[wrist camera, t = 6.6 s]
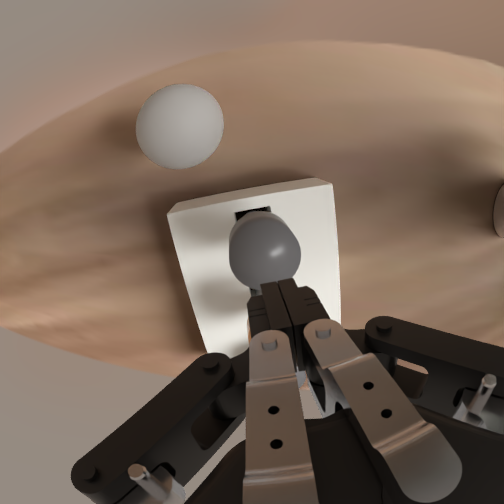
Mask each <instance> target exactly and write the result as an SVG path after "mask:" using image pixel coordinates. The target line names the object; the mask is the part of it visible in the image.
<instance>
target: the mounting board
mask: <svg viewBox="0 0 504 504" xmlns="http://www.w3.org/2000/svg"><path fill="white" fill-rule="evenodd" d="M261 207H265V209H266V212H270V213H273V214H275V215H277V216H279V217H280V218H281V219H282V220H283V221H284V222H285V223H286V224H287V226H288V227H289V228H290V230H291V231H292V233H293V234H294V235H295V237H296V238H297V240H298V242H299V245H300V248H301V261H300V265H299V268H298V270H297V272H296V273H295V275H294V276H293V277H292V278H294V280H295V282H296V284H297V286H298V287H303V286H308V287H310V288H311V289H313V290H314V291H315V292H316V294H317V296H318V298H319V299H320V301H321V303H322V305H323V306H324V308H325V310H326V312H327V313H328V315H329V317H330V319H331V320H335V321H337V322H338V323H340V325H341V312H340V277H339V256H338V241H337V227H336V215H335V204H334V194H333V185H332V184H331V183H329V182H326V181H324V180H321V179H319V178H316V177H314V178H307V179H301V180H294V181H288V182H281V183H275V184H269V185H263V186H258V187H252V188H247V189H241V190H236V191H231V192H225V193H220V194H215V195H210V196H205V197H201V198H196V199H191V200H187V201H182V202H177V203H176V204H175V205H174V206H173V207H172V209H171V210H170V211H169V212H168V213H167V218H168V222H169V226H170V230H171V234H172V237H173V241H174V245H175V249H176V252H177V256H178V260H179V263H180V267H181V270H182V274H183V277H184V281H185V284H186V287H187V291H188V294H189V297H190V300H191V304H192V307H193V310H194V313H195V316H196V319H197V323H198V326H199V329H200V332H201V335H202V338H203V341H204V344H205V347H206V349H207V352H208V353H213V352H218V353H223V354H226V355H227V356H228V357H229V358H233V357H235V356H237V355H240V354H241V353H243V352H244V351H246V350H247V349H248V347H249V342H248V333H247V319H248V310H247V302H248V301H249V299H250V297H253V296H256V290H250V288H249V287H247V286H245V285H244V284H242V283H241V282H240V281H239V280H238V279H237V278H236V277H235V276H234V274H233V272H232V270H231V268H230V264H229V236H230V232H231V230H232V228H233V226H234V225H235V223H236V222H237V218H236V213H235V212H239V211H245V210H250V209H256V208H261Z"/></svg>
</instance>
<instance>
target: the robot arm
mask: <svg viewBox="0 0 504 504" xmlns="http://www.w3.org/2000/svg"><path fill="white" fill-rule="evenodd" d="M493 220H494V227H495V230H496V232H497V234H498V235H499V236H500V237H502V238H504V184H503V185H502V187H501V188H500V190H499V192H498V194H497V197H496V200H495V205H494V213H493ZM260 287H261V293H262V295H259V296H253V297H250V299H249V301H248V302H247V310H248V317H249V325H250V332H251V340H250V343H249V347H248V349H247V350H246V351H244V352H243V353H241V354H240V355H237V356H235V357H233V358H229V357H228V356H227V355H226V354H223V353H218V352H213V353H207V354H204V355H202V356H200V357H199V358H197V359H196V360H195V361H194V362H193V363H192V364H191V365H190V366H188V367H187V368H186V369H185V370H184V371H183V372H182V373H181V374H180V375H178V376H177V377H176V378H175V379H174V380H173V381H172V382H171V383H170V384H168V385H167V386H166V387H165V388H164V389H163V390H162V391H160V392H159V393H158V394H157V395H156V396H155V397H154V398H153V399H151V400H150V401H149V402H148V403H147V404H146V405H145V406H143V407H142V408H141V409H140V410H139V411H137V412H136V413H135V414H134V415H133V416H132V417H131V418H129V419H128V420H127V421H126V422H125V423H124V424H122V425H121V426H120V427H119V428H117V429H116V430H115V431H114V432H113V433H111V434H110V435H109V436H108V437H107V438H105V439H104V440H103V441H102V442H101V443H99V444H98V445H97V446H96V447H94V448H93V449H92V450H91V451H89V452H88V453H87V454H86V455H85V456H83V457H82V458H81V459H79V460H78V461H77V462H76V463H75V464H74V466H73V468H72V471H71V480H72V483H73V485H74V486H75V488H76V489H77V490H79V491H80V492H81V493H83V494H84V495H86V496H87V497H89V498H90V499H91V500H92V501H93V502H94V503H96V504H183V503H184V501H185V495H186V494H185V490H184V488H183V487H184V486H185V485H186V484H187V483H188V482H189V481H190V480H191V478H192V477H193V476H194V475H195V474H196V473H197V472H198V471H199V470H200V469H201V468H202V467H203V466H204V465H205V463H207V461H208V460H209V459H210V458H211V457H212V456H213V455H214V454H215V453H216V452H217V450H218V449H219V448H220V447H221V446H222V445H223V444H224V442H225V441H226V440H227V439H228V438H229V437H230V435H231V434H232V433H233V432H234V431H235V430H236V428H237V427H238V426H239V425H240V424H241V422H242V421H243V420H244V419H245V417H246V439H245V440H244V441H242V442H240V443H239V444H237V445H236V446H235V447H233V448H232V449H231V450H230V451H229V452H228V453H227V454H226V455H225V456H224V457H223V458H222V460H221V461H220V462H219V463H218V465H217V466H216V467H215V468H214V469H213V471H212V472H211V473H210V474H209V475H208V477H207V478H206V479H205V480H204V481H203V482H202V484H201V485H200V486H199V487H198V488H197V489H196V490H195V492H194V493H193V494H192V495H191V496H190V497H189V498H188V500H186V502H185V503H184V504H504V348H503V347H499V346H495V345H491V344H488V343H484V342H480V341H476V340H472V339H469V338H465V337H461V336H457V335H454V334H450V333H446V332H443V331H439V330H436V329H432V328H428V327H425V326H421V325H418V324H414V323H411V322H407V321H404V320H400V319H397V318H393V317H389V316H379V317H375V318H372V319H371V320H369V321H368V322H367V323H366V326H365V329H360V330H348V329H344V328H343V327H342V326H341V325H340V323H338V322H337V321H335V320H331V319H330V317H329V315H328V313H327V312H326V310H325V308H324V306H323V305H322V303H321V301H320V299H319V298H318V296H317V294H316V292H315V291H314V290H313V289H311V288H310V287H308V286H303V287H298V286H297V284H296V282H295V280H294V278H288V279H283V280H278V281H277V282H276V281H273V282H268V283H263V284H260ZM398 359H401V360H404V361H407V362H410V363H413V364H416V365H420V366H422V367H424V368H425V369H426V370H427V371H428V374H424V373H421V372H418V371H415V370H412V369H409V368H406V367H403V366H400V365H397V360H398ZM297 367H298V370H299V372H300V371H305V370H306V373H307V378H308V386H309V388H310V391H311V393H312V395H313V397H314V399H315V402H316V404H317V406H318V409H319V410H320V413H321V415H322V418H321V419H304V416H303V410H302V404H301V399H300V392H299V387H298V381H297V376H296V375H295V373H296V372H297Z"/></svg>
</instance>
